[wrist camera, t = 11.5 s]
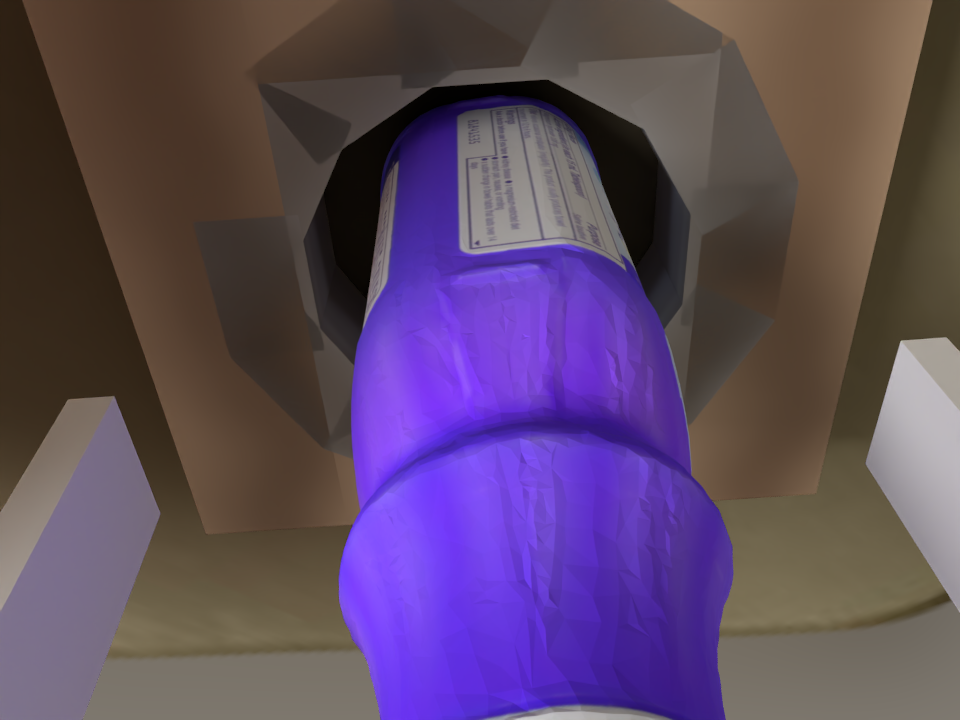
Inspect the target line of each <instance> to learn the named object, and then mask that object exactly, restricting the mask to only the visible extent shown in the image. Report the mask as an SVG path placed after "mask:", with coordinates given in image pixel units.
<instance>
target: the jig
mask: <svg viewBox="0 0 960 720" xmlns="http://www.w3.org/2000/svg"><path fill="white" fill-rule="evenodd" d="M22 1H23V4H24V7H25V10H26V13H27V16H28V19H29V22H30V25H31V27H32V30H33V33H34V36H35V39H36V42H37V45H38V48H39V51H40V54H41V57H42V59H43V62H44V65H45V68H46V71H47V74H48V77H49V80H50V83H51V86H52V88H53V91H54V94H55V97H56V100H57V103H58V106H59V109H60V112H61V115H62V118H63V120H64V123H65V126H66V129H67V132H68V135H69V138H70V141H71V144H72V147H73V149H74V152H75V155H76V158H77V161H78V164H79V167H80V170H81V173H82V176H83V179H84V181H85V184H86V187H87V190H88V193H89V196H90V199H91V202H92V205H93V208H94V210H95V213H96V216H97V219H98V222H99V225H100V228H101V231H102V234H103V237H104V239H105V242H106V245H107V248H108V251H109V254H110V257H111V260H112V263H113V266H114V269H115V271H116V274H117V277H118V280H119V283H120V286H121V289H122V292H123V295H124V298H125V300H126V303H127V306H128V309H129V312H130V315H131V318H132V321H133V324H134V327H135V330H136V332H137V335H138V338H139V341H140V344H141V347H142V350H143V353H144V356H145V359H146V361H147V364H148V367H149V370H150V373H151V376H152V379H153V382H154V385H155V388H156V391H157V393H158V396H159V399H160V402H161V405H162V408H163V411H164V414H165V417H166V420H167V422H168V425H169V428H170V431H171V434H172V437H173V440H174V443H175V446H176V449H177V452H178V454H179V457H180V460H181V463H182V466H183V469H184V472H185V475H186V478H187V481H188V483H189V486H190V489H191V492H192V495H193V498H194V501H195V504H196V507H197V510H198V513H199V515H200V518H201V521H202V524H203V527H204V530H205V533H206V534H221V533H236V532H251V531H266V530H281V529H296V528H311V527H326V526H341V525H353V524H354V522H355V520H356V518H357V516H358V514H359V513H360V511H361V510H360V506H359V500H358V494H357V486H356V476H355V468H354V459H353V449H352V431H351V399H352V384H353V374H354V365H355V357H356V350H357V343H358V341H359V338H360V336H361V333H362V330H363V324H364V318H365V312H366V306H367V300H366V298H365V297H364V296H363V295H362V294H361V293H360V291H359V290H358V289H357V288H356V287H355V286H354V284H353V283H352V282H351V281H350V280H349V279H348V277H347V276H346V275H345V274H344V273H343V272H342V270H341V269H340V268H339V267H338V266H337V264H336V262H335V256H334V251H333V245H332V239H331V233H330V228H329V222H328V216H327V210H326V205H325V199H324V193H323V192H324V190H325V188H326V185H327V183H328V181H329V178H330V176H331V173H332V171H333V169H334V166H335V164H336V162H337V159H338V157H339V154H340V152H341V150H342V149H343V148H345V147H346V146H348V145H349V144H351V143H352V142H353V141H355V140H356V139H358V138H359V137H361V136H362V135H364V134H365V133H367V132H368V131H369V130H371V129H372V128H374V127H375V126H377V125H378V124H380V123H381V122H382V121H384V120H385V119H387V118H388V117H390V116H391V115H393V114H394V113H396V112H397V111H398V110H400V109H401V108H403V107H404V106H406V105H407V104H409V103H410V102H412V101H413V100H414V99H416V98H417V97H419V96H420V95H422V94H423V93H425V92H426V91H427V90H429V89H430V88H432V87H441V86H456V85H471V84H485V83H500V82H515V81H530V80H545V79H548V80H550V81H552V82H554V83H556V84H558V85H559V86H561V87H563V88H565V89H567V90H569V91H571V92H573V93H575V94H577V95H579V96H581V97H583V98H585V99H586V100H588V101H590V102H592V103H594V104H596V105H598V106H600V107H602V108H604V109H606V110H608V111H610V112H612V113H613V114H615V115H617V116H619V117H621V118H623V119H625V120H627V121H629V122H631V123H633V124H635V125H637V126H639V127H640V128H641V130H642V132H643V134H644V135H645V137H646V139H647V141H648V143H649V144H650V146H651V148H652V150H653V152H654V154H655V155H656V157H657V159H658V173H657V187H656V202H655V216H654V231H653V243H652V244H651V246H650V247H649V249H648V250H647V252H646V253H645V255H644V256H643V257H642V259H641V260H640V262H639V263H638V265H637V266H636V268H635V269H636V272H637V274H638V277H639V279H640V282H641V284H642V287H643V289H644V292H645V295H646V297H647V298H648V300H649V301H650V303H651V304H652V306H653V307H654V309H655V310H656V312H657V314H658V317H659V319H660V321H661V324H662V326H663V329H664V331H665V334H666V336H667V339H668V342H669V345H670V348H671V351H672V355H673V359H674V363H675V367H676V370H677V374H678V378H679V383H680V387H681V392H682V397H683V402H684V408H685V413H686V418H687V425H688V432H689V439H690V453H691V468H692V475H691V476H692V477H693V478H694V479H695V480H696V481H697V482H698V483H699V484H700V485H701V486H702V487H703V489H704V490H705V491H706V493H707V495H708V496H709V498H710V499H711V500H712V501H716V500H731V499H746V498H761V497H776V496H791V495H806V494H816V492H817V488H818V484H819V479H820V475H821V471H822V467H823V462H824V458H825V454H826V450H827V446H828V441H829V437H830V433H831V429H832V424H833V420H834V416H835V412H836V407H837V403H838V399H839V395H840V391H841V386H842V382H843V378H844V374H845V369H846V365H847V361H848V357H849V352H850V348H851V344H852V340H853V336H854V331H855V327H856V323H857V319H858V314H859V310H860V306H861V302H862V297H863V293H864V289H865V285H866V281H867V276H868V272H869V268H870V264H871V259H872V255H873V251H874V247H875V242H876V238H877V234H878V230H879V226H880V221H881V217H882V213H883V209H884V204H885V200H886V196H887V192H888V187H889V183H890V179H891V175H892V171H893V166H894V162H895V158H896V154H897V149H898V145H899V141H900V137H901V132H902V128H903V124H904V120H905V116H906V111H907V107H908V103H909V99H910V94H911V90H912V86H913V82H914V78H915V73H916V69H917V65H918V61H919V56H920V52H921V48H922V44H923V39H924V35H925V31H926V27H927V23H928V18H929V14H930V10H931V6H932V1H933V0H22Z"/></svg>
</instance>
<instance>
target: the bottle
mask: <svg viewBox="0 0 960 720" xmlns="http://www.w3.org/2000/svg"><path fill="white" fill-rule="evenodd" d="M380 203H381V204H380V212H379V221H378V228H377V235H376V242H375V250H374V257H373V264H372V271H371V278H370V285H369V292H368V299H367V306H366V312H365V318H364V324H363V330H362V333H361V336H360V338H359V341H358V343H357V350H356V357H355V365H354V374H353V384H352V399H351V431H352V449H353V459H354V468H355V476H356V486H357V494H358V500H359V506H360V510H361V511H360V513H359V514H358V516H357V518H356V520H355V522H354V524H353V526H352V528H351V531H350V533H349V536H348V539H347V542H346V545H345V548H344V552H343V556H342V559H341V566H340V573H339V602H340V606H341V610H342V614H343V618H344V621H345V624H346V625H347V627H348V628H349V630H350V632H351V637H352V640H353V641H354V642H355V644H356V645H357V646H358V647H359V649H360V650H361V651H362V653H363V654H364V656H365V659H366V660H367V662H368V666H369V670H370V675H371V679H372V682H373V685H374V689H375V694H376V698H377V702H378V707H379V713H380V719H381V720H726V719H725V714H724V708H723V702H722V693H721V684H720V677H719V672H718V665H717V663H718V662H717V661H718V660H717V659H718V658H717V647H718V641H719V626H720V622H721V617H722V611H723V608H724V604H725V602H726V600H727V598H728V595H729V592H730V589H731V585H732V580H733V559H732V544H731V541H730V539H729V536H728V533H727V530H726V527H725V525H724V522H723V520H722V517H721V514H720V511H719V510H718V508H717V507H716V506H715V504H714V503H713V502H712V500H711V499H710V498H709V496H708V495H707V493H706V491H705V490H704V489H703V487H702V486H701V485H700V484H699V483H698V482H697V481H696V480H695V479H694V478H693V477H692V476H691V475H692V468H691V453H690V439H689V432H688V425H687V418H686V413H685V408H684V402H683V397H682V392H681V387H680V383H679V378H678V374H677V370H676V367H675V363H674V359H673V355H672V351H671V348H670V345H669V342H668V339H667V336H666V334H665V331H664V329H663V326H662V324H661V321H660V319H659V317H658V314H657V312H656V310H655V309H654V307H653V306H652V304H651V303H650V301H649V300H648V298H647V297H646V295H645V292H644V289H643V287H642V284H641V282H640V279H639V277H638V274H637V272H636V269H635V267H634V265H633V262H632V260H631V257H630V254H629V252H628V249H627V247H626V244H625V242H624V239H623V237H622V234H621V232H620V229H619V227H618V224H617V222H616V219H615V217H614V214H613V212H612V209H611V207H610V204H609V201H608V199H607V196H606V194H605V191H604V188H603V186H602V183H601V178H600V174H599V170H598V166H597V162H596V160H595V157H594V155H593V153H592V150H591V148H590V145H589V143H588V140H587V138H586V137H585V135H584V134H583V132H582V131H581V130H580V128H579V127H578V126H577V124H576V123H575V122H574V121H573V120H572V119H571V118H569V117H568V116H567V115H566V114H565V113H564V112H563V111H561V110H560V109H558V108H557V107H555V106H553V105H551V104H549V103H546V102H543V101H541V100H538V99H534V98H530V97H524V96H504V95H496V96H489V97H482V98H476V99H470V100H462V101H458V102H456V103H452V104H447V105H442V106H439V107H436V108H434V109H432V110H430V111H428V112H426V113H424V114H422V115H420V116H418V117H417V118H416V119H415V120H414V121H412V122H411V123H410V124H409V125H407V126H406V128H405V129H404V130H403V131H402V132H401V133H400V134H399V136H398V137H397V139H396V140H395V142H394V144H393V145H392V147H391V149H390V151H389V153H388V156H387V159H386V162H385V165H384V169H383V174H382V180H381V192H380Z"/></svg>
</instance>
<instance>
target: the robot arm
mask: <svg viewBox="0 0 960 720" xmlns="http://www.w3.org/2000/svg"><path fill="white" fill-rule="evenodd" d="M865 464H866V465H867V467H868V469H869V470H870V472H871V473H872V475H873V476H874V478H875V480H876V481H877V483H878V484H879V486H880V488H881V489H882V491H883V492H884V494H885V495H886V497H887V499H888V500H889V502H890V503H891V505H892V507H893V508H894V510H895V511H896V513H897V514H898V516H899V518H900V519H901V521H902V522H903V524H904V526H905V527H906V529H907V530H908V532H909V533H910V535H911V537H912V538H913V540H914V541H915V543H916V544H917V546H918V548H919V549H920V551H921V552H922V554H923V556H924V557H925V559H926V560H927V562H928V563H929V565H930V567H931V568H932V570H933V571H934V573H935V575H936V576H937V578H938V579H939V581H940V582H941V584H942V586H943V587H944V589H945V590H946V592H947V593H948V595H949V597H950V598H951V600H952V601H953V603H954V605H955V606H956V608H957V609H958V611H959V612H960V351H959V350H958V349H957V348H956V347H955V346H954V345H953V344H952V343H951V342H950V341H949V339H948V338H947V337H945V338H930V339H916V340H902V341H901V342H900V345H899V349H898V352H897V356H896V359H895V363H894V366H893V369H892V373H891V376H890V380H889V383H888V387H887V390H886V394H885V397H884V401H883V404H882V408H881V411H880V415H879V418H878V422H877V425H876V428H875V432H874V435H873V439H872V442H871V446H870V449H869V453H868V456H867V460H866V463H865ZM159 517H160V511H159V508H158V506H157V503H156V501H155V498H154V496H153V493H152V491H151V488H150V486H149V483H148V481H147V478H146V475H145V473H144V470H143V468H142V465H141V463H140V460H139V458H138V455H137V453H136V450H135V448H134V445H133V442H132V440H131V437H130V435H129V432H128V430H127V427H126V425H125V422H124V420H123V417H122V414H121V412H120V409H119V407H118V404H117V402H116V399H115V397H114V396H108V397H94V398H80V399H68V400H67V402H66V404H65V405H64V407H63V409H62V410H61V412H60V414H59V415H58V417H57V419H56V420H55V422H54V424H53V425H52V427H51V429H50V430H49V432H48V434H47V435H46V437H45V439H44V440H43V442H42V444H41V445H40V447H39V449H38V450H37V452H36V454H35V455H34V457H33V459H32V460H31V462H30V464H29V465H28V467H27V469H26V470H25V472H24V474H23V475H22V477H21V479H20V480H19V482H18V484H17V485H16V487H15V489H14V490H13V492H12V494H11V495H10V497H9V499H8V500H7V502H6V504H5V505H4V507H3V509H2V510H1V512H0V720H83V717H84V714H85V712H86V709H87V707H88V704H89V701H90V699H91V696H92V693H93V691H94V688H95V685H96V683H97V680H98V678H99V675H100V672H101V670H102V667H103V664H104V662H105V659H106V656H107V654H108V651H109V649H110V646H111V643H112V641H113V638H114V635H115V633H116V630H117V627H118V625H119V622H120V619H121V617H122V614H123V612H124V609H125V606H126V604H127V601H128V598H129V596H130V593H131V590H132V588H133V585H134V583H135V580H136V577H137V575H138V572H139V569H140V567H141V564H142V561H143V559H144V556H145V553H146V551H147V548H148V546H149V543H150V540H151V538H152V535H153V532H154V530H155V527H156V524H157V522H158V519H159Z"/></svg>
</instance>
